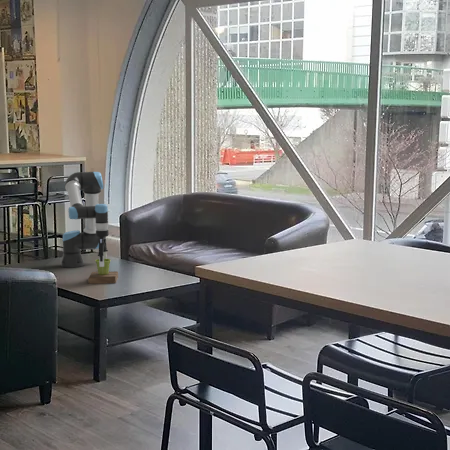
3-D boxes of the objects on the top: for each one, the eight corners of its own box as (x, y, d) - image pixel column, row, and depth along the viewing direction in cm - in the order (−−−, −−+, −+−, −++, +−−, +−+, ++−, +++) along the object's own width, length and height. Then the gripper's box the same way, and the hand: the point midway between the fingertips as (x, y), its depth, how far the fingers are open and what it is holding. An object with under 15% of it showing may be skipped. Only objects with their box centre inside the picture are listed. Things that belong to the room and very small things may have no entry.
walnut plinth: (92, 278, 436) (92, 271, 435) (118, 277, 436) (118, 271, 436) (88, 283, 420) (88, 277, 419) (115, 283, 420) (115, 276, 420)
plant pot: (114, 273, 429) (114, 259, 428) (104, 276, 421) (103, 262, 420) (102, 272, 434) (102, 258, 433) (92, 274, 426) (91, 260, 425)
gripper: (98, 226, 436) (99, 260, 439) (92, 232, 411) (94, 268, 414) (110, 226, 436) (111, 260, 439) (105, 232, 412) (107, 268, 415)
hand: (103, 264), depth 427 cm, fingers open, 13 cm apart
